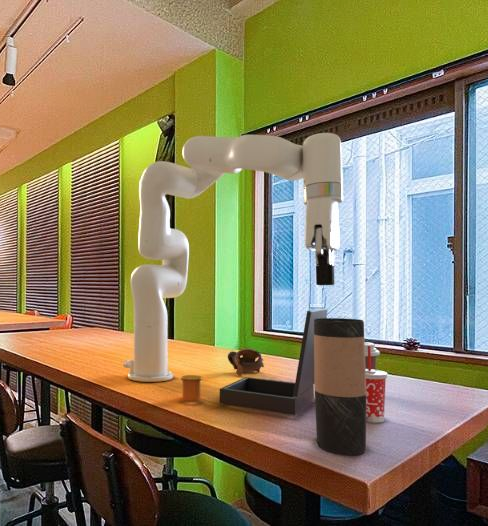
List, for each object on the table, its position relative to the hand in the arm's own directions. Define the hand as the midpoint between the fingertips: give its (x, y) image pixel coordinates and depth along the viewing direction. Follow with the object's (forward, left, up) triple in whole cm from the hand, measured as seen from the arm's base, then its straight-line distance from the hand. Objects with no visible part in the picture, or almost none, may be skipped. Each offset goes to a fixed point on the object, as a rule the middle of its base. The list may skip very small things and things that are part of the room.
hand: (325, 284), depth 89 cm
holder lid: (-3, 0, -13) cm, 14 cm away
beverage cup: (+8, +1, -26) cm, 27 cm away
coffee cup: (+3, +22, -26) cm, 34 cm away
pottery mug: (-29, +30, -26) cm, 50 cm away
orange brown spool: (-27, -7, -26) cm, 38 cm away
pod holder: (-12, 0, -26) cm, 29 cm away
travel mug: (+6, -18, -26) cm, 32 cm away
